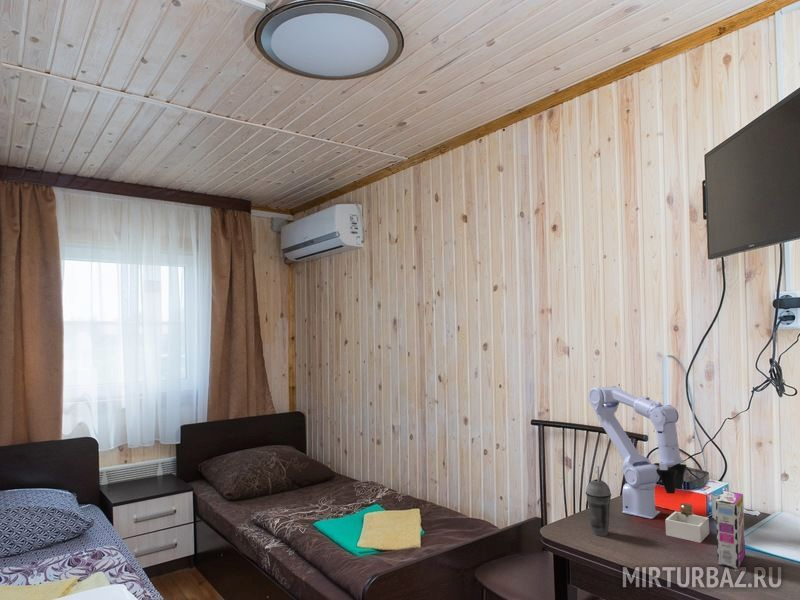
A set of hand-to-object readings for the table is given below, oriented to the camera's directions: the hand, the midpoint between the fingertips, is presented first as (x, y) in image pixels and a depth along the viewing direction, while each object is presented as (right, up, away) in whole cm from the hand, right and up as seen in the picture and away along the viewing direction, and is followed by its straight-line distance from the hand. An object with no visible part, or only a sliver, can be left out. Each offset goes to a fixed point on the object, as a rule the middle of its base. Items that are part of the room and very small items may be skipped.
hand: (674, 490), depth 170 cm
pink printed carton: (+2, -10, -25) cm, 27 cm away
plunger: (0, -10, -7) cm, 12 cm away
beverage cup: (-25, -11, -5) cm, 27 cm away
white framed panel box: (0, -10, -7) cm, 12 cm away
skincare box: (+17, -11, +3) cm, 21 cm away
